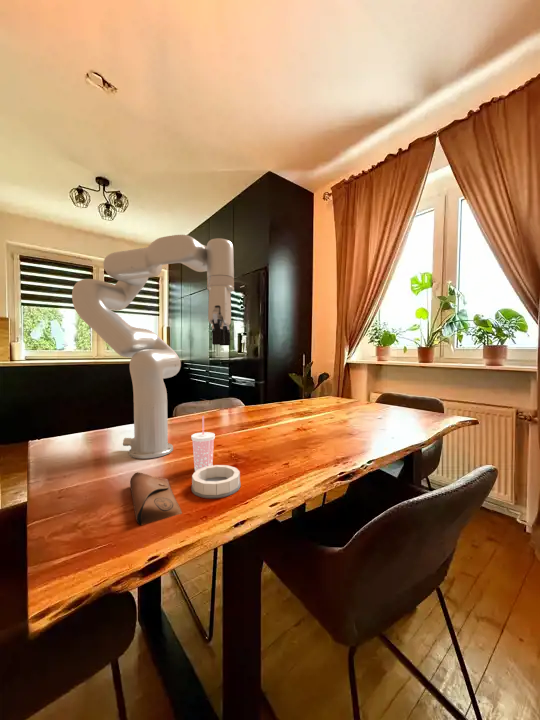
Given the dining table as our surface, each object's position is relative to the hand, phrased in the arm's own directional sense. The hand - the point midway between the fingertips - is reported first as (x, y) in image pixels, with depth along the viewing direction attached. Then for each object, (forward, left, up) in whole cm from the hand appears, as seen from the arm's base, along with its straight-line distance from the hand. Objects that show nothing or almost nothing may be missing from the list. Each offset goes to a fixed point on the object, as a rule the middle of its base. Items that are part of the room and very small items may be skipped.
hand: (221, 344), depth 86 cm
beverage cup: (-3, -8, -33) cm, 34 cm away
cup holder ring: (+3, -18, -33) cm, 38 cm away
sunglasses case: (-9, -25, -34) cm, 43 cm away
